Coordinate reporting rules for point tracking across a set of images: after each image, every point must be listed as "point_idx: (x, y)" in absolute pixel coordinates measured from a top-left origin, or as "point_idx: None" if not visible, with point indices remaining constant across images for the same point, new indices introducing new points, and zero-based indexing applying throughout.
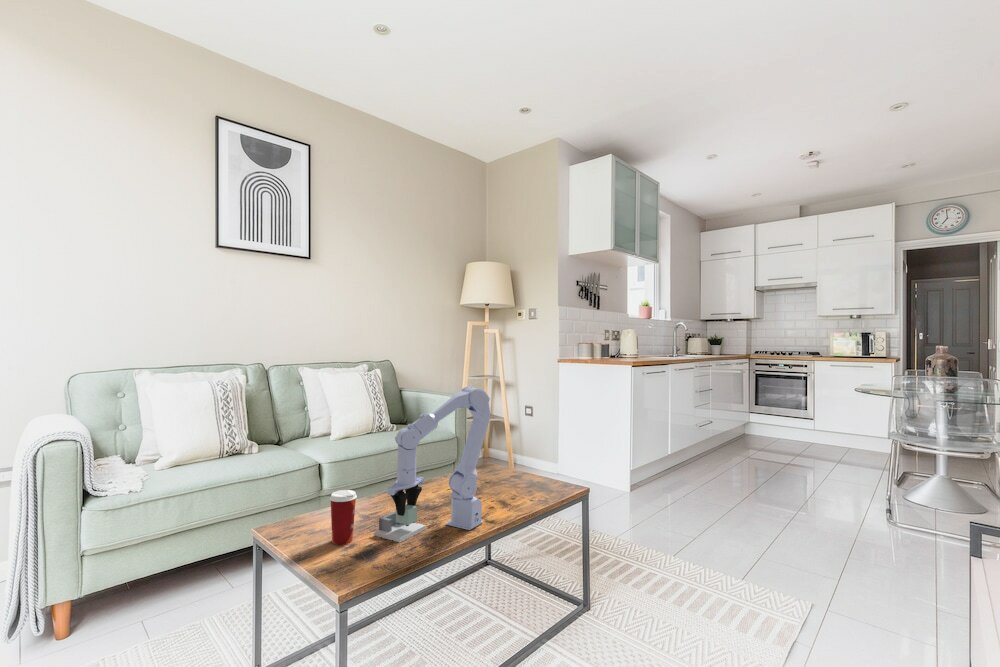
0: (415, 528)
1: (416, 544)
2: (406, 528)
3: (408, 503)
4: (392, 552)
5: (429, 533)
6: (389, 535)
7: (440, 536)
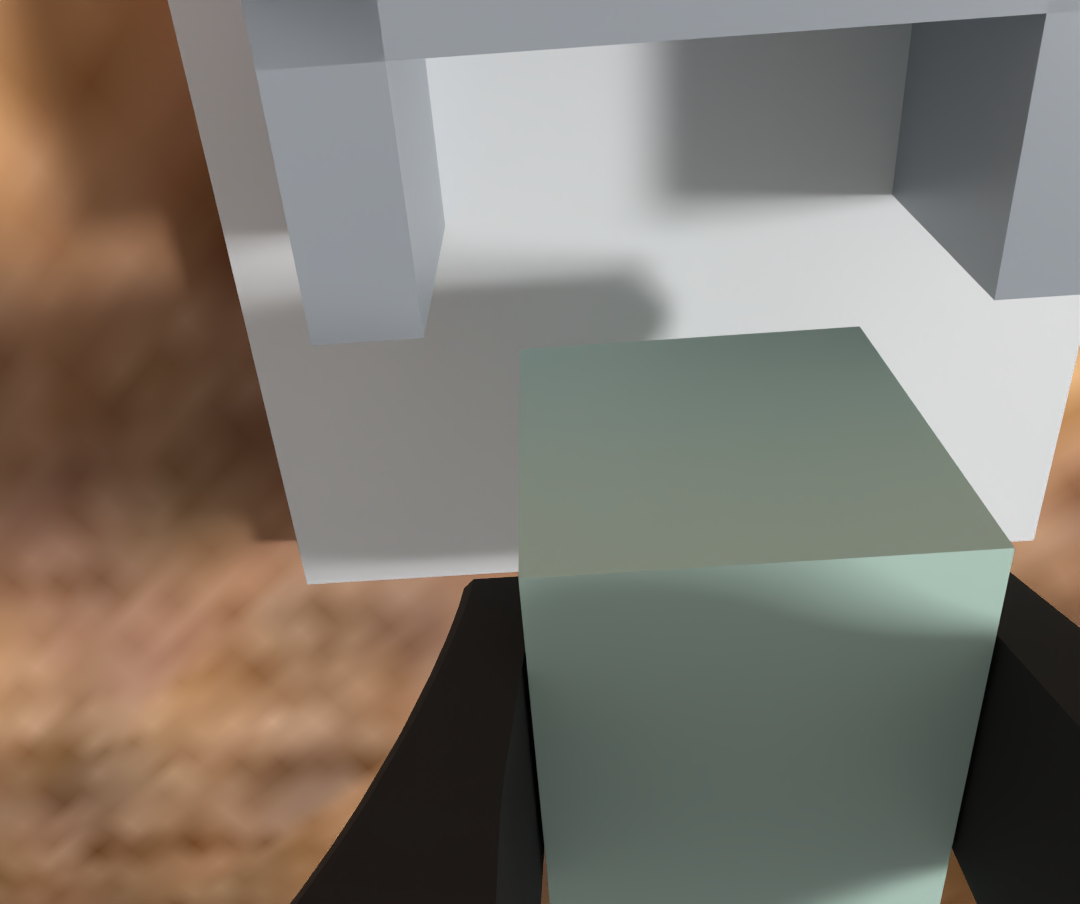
0: None
1: None
2: None
3: (1008, 723)
4: (29, 673)
5: None
6: (259, 363)
7: None
